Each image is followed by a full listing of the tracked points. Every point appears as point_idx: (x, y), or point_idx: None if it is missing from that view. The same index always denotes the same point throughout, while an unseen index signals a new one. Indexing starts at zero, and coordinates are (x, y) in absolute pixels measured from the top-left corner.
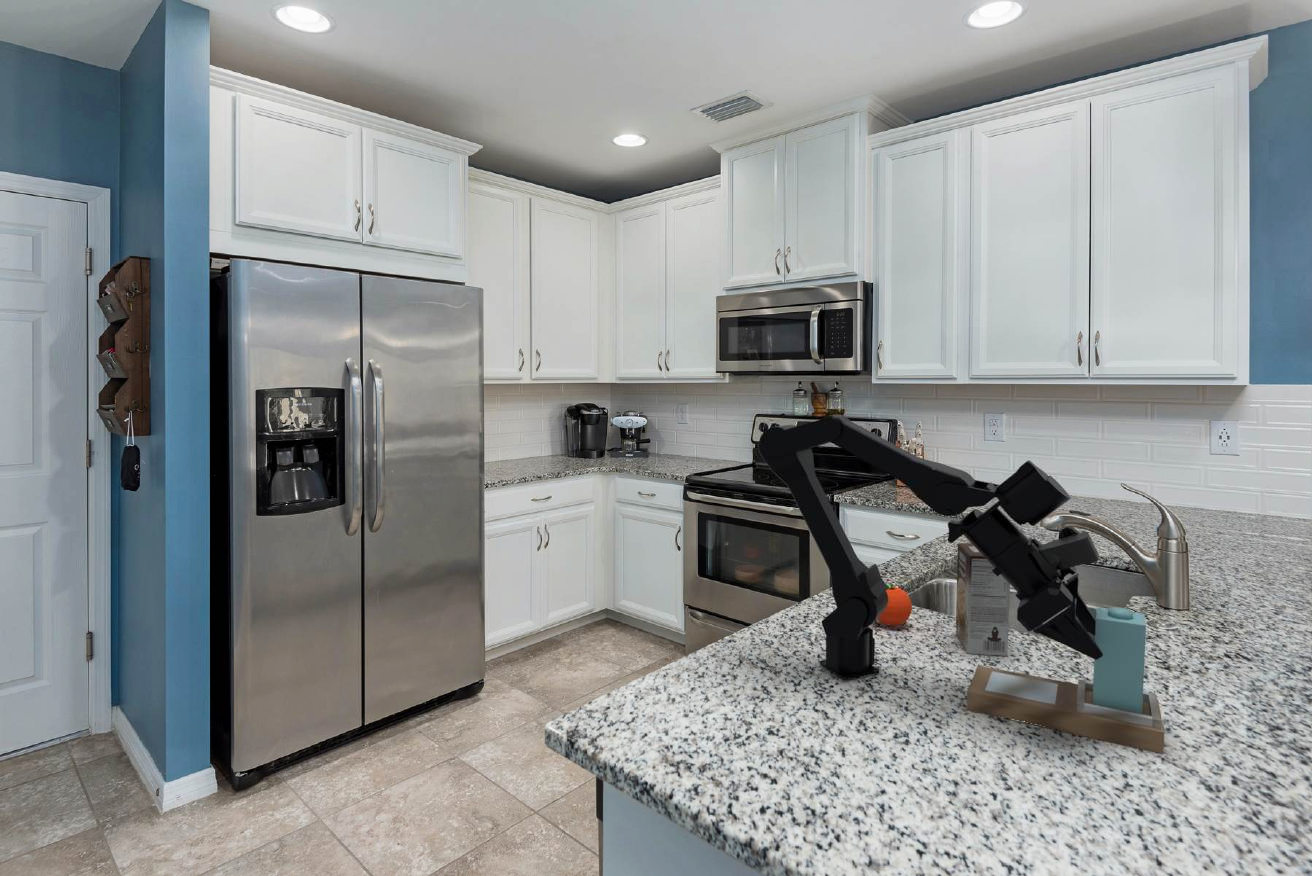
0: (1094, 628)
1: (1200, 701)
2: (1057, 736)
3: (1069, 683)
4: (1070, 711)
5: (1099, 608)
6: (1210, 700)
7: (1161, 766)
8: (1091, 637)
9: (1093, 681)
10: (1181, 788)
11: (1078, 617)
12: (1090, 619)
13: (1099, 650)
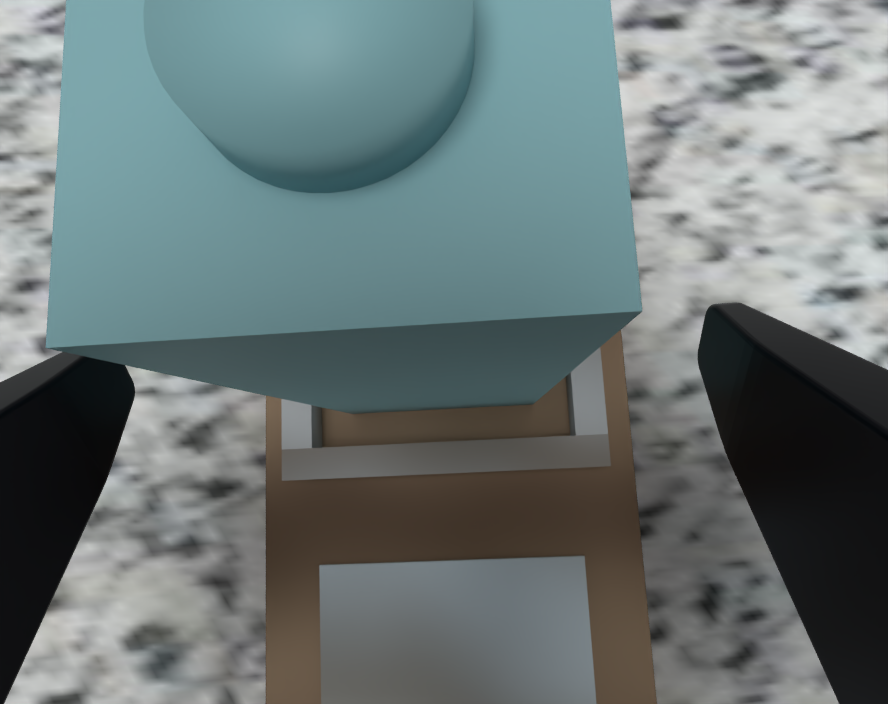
0: (97, 399)
1: (55, 97)
2: (676, 519)
3: (275, 516)
4: (617, 487)
5: (84, 306)
6: (30, 70)
7: (694, 197)
8: (820, 373)
9: (365, 408)
10: (818, 145)
11: (13, 545)
12: (28, 432)
13: (776, 319)
